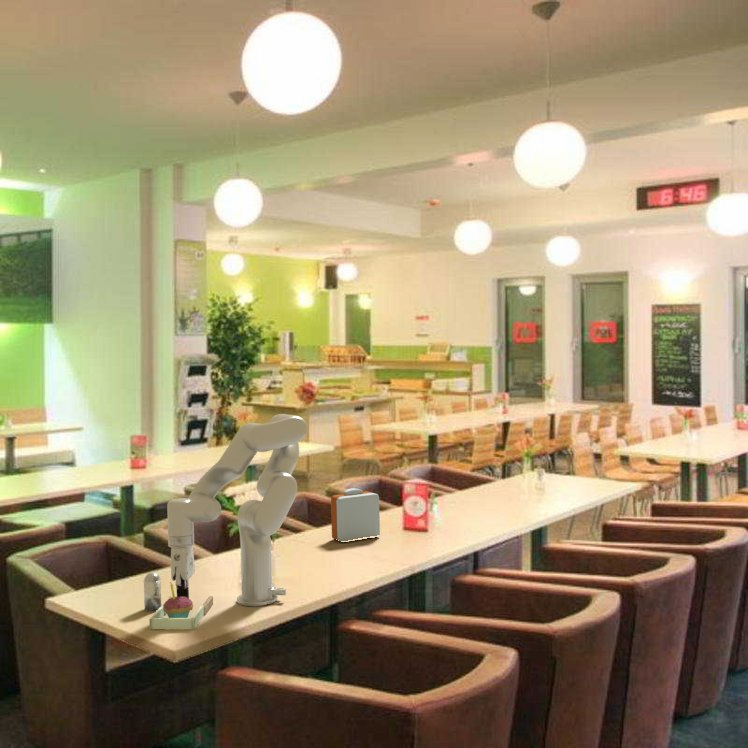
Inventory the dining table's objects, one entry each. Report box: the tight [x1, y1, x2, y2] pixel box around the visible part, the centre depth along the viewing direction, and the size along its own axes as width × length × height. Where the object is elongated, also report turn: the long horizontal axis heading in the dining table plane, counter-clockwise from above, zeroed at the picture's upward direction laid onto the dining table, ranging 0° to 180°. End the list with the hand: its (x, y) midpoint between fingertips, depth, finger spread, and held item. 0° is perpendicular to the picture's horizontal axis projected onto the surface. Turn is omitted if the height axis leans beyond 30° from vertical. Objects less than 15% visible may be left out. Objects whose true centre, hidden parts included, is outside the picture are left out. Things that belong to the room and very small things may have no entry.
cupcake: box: [162, 581, 194, 618], centre depth 242 cm, size 9×8×12 cm
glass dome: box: [143, 572, 162, 612], centre depth 254 cm, size 5×5×11 cm
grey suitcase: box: [330, 487, 381, 542], centre depth 341 cm, size 18×9×21 cm, turn 120°
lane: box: [161, 595, 214, 617], centre depth 253 cm, size 13×11×2 cm
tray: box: [148, 604, 205, 630], centre depth 241 cm, size 13×12×3 cm
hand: (182, 601), depth 248 cm, fingers closed
